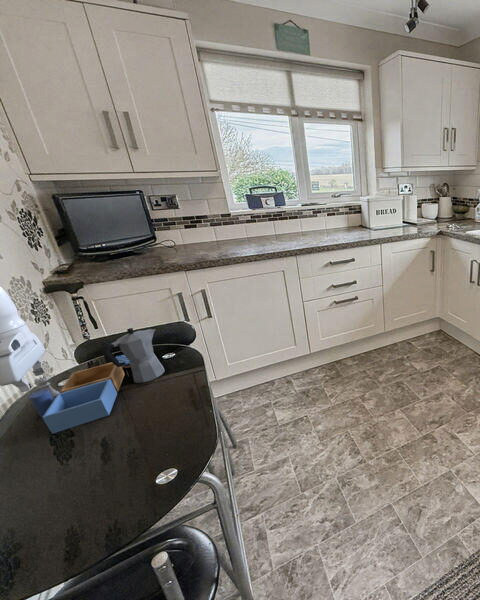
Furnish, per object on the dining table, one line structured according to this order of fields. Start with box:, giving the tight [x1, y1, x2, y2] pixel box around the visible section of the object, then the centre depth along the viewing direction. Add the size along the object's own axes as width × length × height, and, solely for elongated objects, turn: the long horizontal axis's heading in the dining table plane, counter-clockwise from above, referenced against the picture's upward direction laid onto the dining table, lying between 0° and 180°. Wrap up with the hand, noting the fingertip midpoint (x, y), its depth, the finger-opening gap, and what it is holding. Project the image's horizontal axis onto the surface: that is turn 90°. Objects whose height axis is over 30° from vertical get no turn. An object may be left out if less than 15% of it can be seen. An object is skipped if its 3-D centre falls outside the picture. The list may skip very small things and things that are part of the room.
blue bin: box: [41, 379, 118, 435], centre depth 95 cm, size 12×12×6 cm
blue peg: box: [28, 389, 54, 418], centre depth 95 cm, size 4×4×7 cm
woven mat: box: [114, 354, 131, 369], centre depth 122 cm, size 10×11×2 cm
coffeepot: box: [102, 327, 166, 384], centre depth 108 cm, size 15×9×18 cm, turn 153°
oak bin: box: [59, 361, 126, 394], centre depth 106 cm, size 12×12×6 cm
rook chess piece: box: [33, 375, 60, 400], centre depth 102 cm, size 4×4×8 cm
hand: (34, 381), depth 93 cm, fingers open, 8 cm apart
